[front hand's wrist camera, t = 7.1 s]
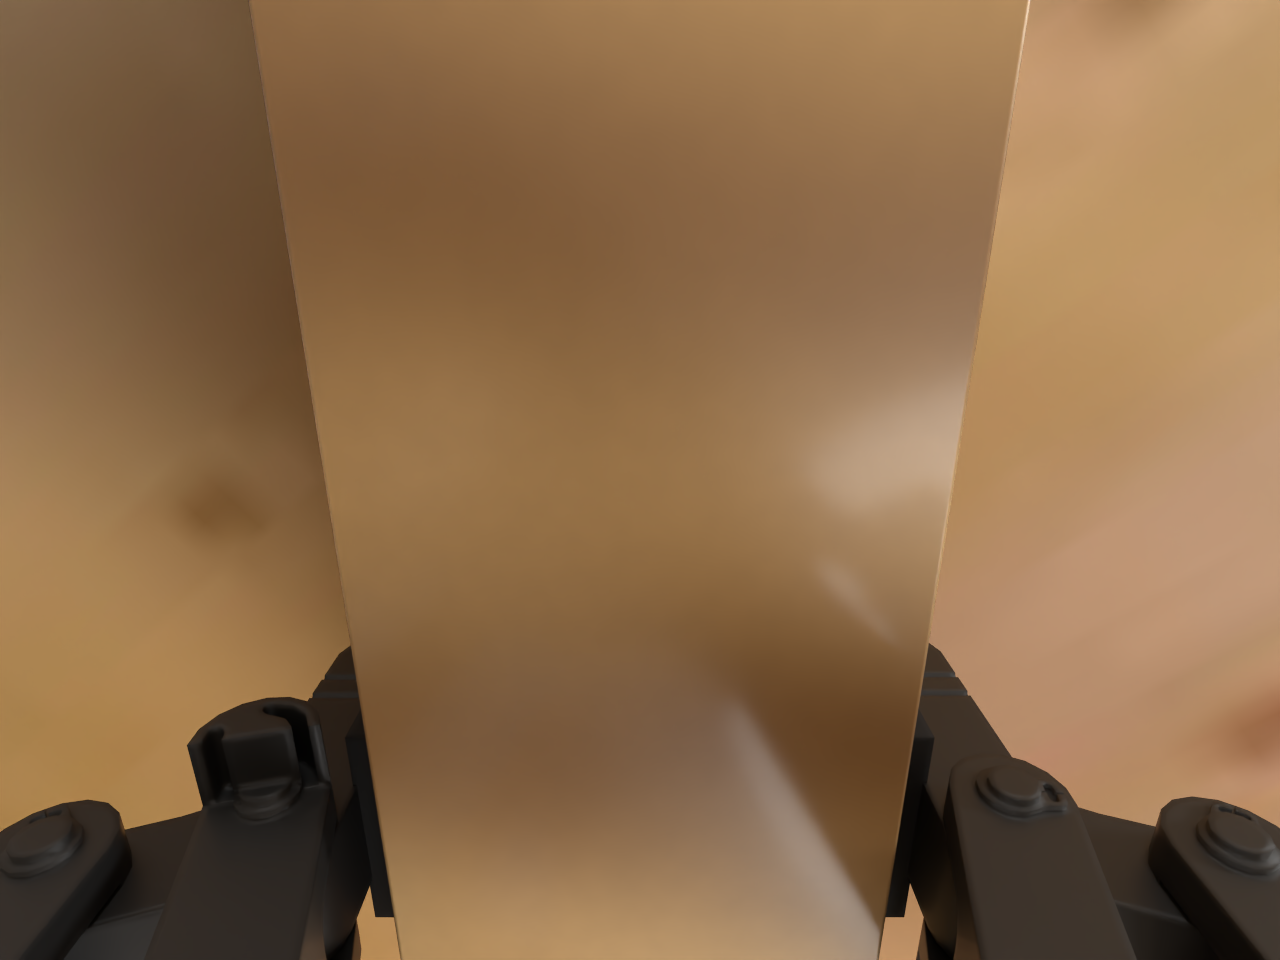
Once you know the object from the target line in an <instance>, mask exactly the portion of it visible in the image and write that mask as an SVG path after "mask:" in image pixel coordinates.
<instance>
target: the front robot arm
mask: <svg viewBox="0 0 1280 960" xmlns="http://www.w3.org/2000/svg"><path fill="white" fill-rule="evenodd" d="M187 747H188V751H189V755H190V758H191V762H192V766H193V770H194V774H195V777H196V781H197V785H198V789H199V793H200V796H201V800H202V804H203V807H202V810H201V811H198V812H195V813H192V814H188V815H185V816H182V817H178V818H173V819H169V820H165V821H160V822H156V823H152V824H148V825H143V826H139V827H135V828H130V829H126V830H125V829H124V826H123V823H122V820H121V817H120V813H119V812H118V811H117V810H116V809H115V808H113V807H112V806H111V805H110V804H109V803H106V802H99V801H93V800H83V801H76V802H69V803H62V804H59V805H56V806H53V807H50V808H48V809H44V810H42V811H39V812H36V813H33V814H31V815H29V816H28V817H26V818H24V819H22V820H20V821H18V822H17V823H15V824H13V825H11V826H9V827H7V828H6V829H4V830H3V831H1V832H0V960H360V956H361V944H360V937H359V930H358V925H357V916H358V914H359V911H360V909H361V906H362V904H363V901H364V899H365V896H366V894H367V891H368V889H369V886H370V888H371V894H372V900H373V906H374V911H375V917H394V914H393V907H392V901H391V895H390V888H389V882H388V876H387V870H386V863H385V857H384V851H383V844H382V838H381V832H380V826H379V819H378V813H377V807H376V800H375V794H374V788H373V782H372V775H371V769H370V763H369V756H368V750H367V744H366V738H365V731H364V725H363V719H362V712H361V706H360V700H359V694H358V687H357V681H356V675H355V668H354V662H353V656H352V649H351V646H349V647H348V648H347V649H345V650H344V651H343V652H341V653H340V654H339V655H338V657H337V658H336V660H335V661H334V663H333V664H332V666H331V667H330V669H329V670H328V672H327V673H326V675H325V679H324V680H321V682H320V683H319V685H318V686H317V688H316V689H315V691H314V692H313V697H312V698H309V700H308V701H303V700H299V699H296V698H292V697H278V698H265V699H261V700H257V701H253V702H249V703H245V704H241V705H239V706H237V707H235V708H233V709H230V710H228V711H226V712H224V713H222V714H219V715H218V716H216V717H215V718H214V719H212V720H211V721H210V722H208V723H207V724H206V725H204V726H203V727H201V728H200V729H199V730H198V731H197V733H196V734H195V735H194V737H193V738H192V739H191V741H190V742H189V743H188V745H187ZM910 884H911V886H912V889H913V891H914V894H915V896H916V899H917V901H918V904H919V906H920V909H921V911H922V914H923V916H924V919H923V925H922V930H921V935H920V941H919V946H918V952H917V957H916V960H1280V828H1278V827H1277V826H1276V825H1274V824H1272V823H1270V822H1268V821H1266V820H1265V819H1263V818H1261V817H1259V816H1257V815H1255V814H1253V813H1252V812H1250V811H1248V810H1245V809H1242V808H1239V807H1237V806H1234V805H1231V804H1228V803H1225V802H1222V801H1219V800H1213V799H1206V798H1199V797H1186V798H1180V799H1174V800H1171V801H1170V802H1169V803H1168V804H1167V805H1166V806H1164V807H1163V808H1162V809H1161V812H1160V815H1159V818H1158V821H1157V824H1156V827H1154V826H1150V825H1146V824H1141V823H1137V822H1133V821H1128V820H1124V819H1120V818H1116V817H1111V816H1107V815H1103V814H1098V813H1095V812H1092V811H1089V810H1085V809H1082V808H1079V807H1078V806H1077V804H1076V803H1075V801H1074V800H1073V798H1072V797H1071V795H1070V793H1069V792H1068V790H1067V789H1066V788H1065V787H1064V786H1063V785H1062V784H1061V783H1059V782H1058V781H1057V780H1056V779H1055V778H1053V777H1052V776H1051V775H1050V774H1049V773H1047V772H1045V771H1043V770H1041V769H1039V768H1038V767H1036V766H1034V765H1032V764H1030V763H1028V762H1026V761H1023V760H1020V759H1016V758H1012V757H1011V755H1010V754H1009V752H1008V751H1007V749H1006V748H1005V746H1004V745H1003V743H1002V742H1001V740H1000V739H999V737H998V736H997V734H996V733H995V731H994V730H993V728H992V727H991V726H990V724H989V723H988V721H987V720H986V718H985V717H984V715H983V714H982V712H981V711H980V709H979V708H978V706H977V705H976V703H975V702H974V700H973V699H972V697H971V696H968V695H967V690H966V688H965V687H964V685H963V684H962V683H961V681H960V680H959V678H958V677H955V672H954V671H953V669H952V668H951V666H950V665H949V663H948V662H947V660H946V659H945V657H944V656H943V654H942V653H941V651H939V650H938V649H936V648H935V647H934V646H932V645H931V644H930V643H929V645H928V651H927V658H926V664H925V670H924V676H923V683H922V689H921V695H920V702H919V708H918V714H917V721H916V727H915V733H914V740H913V746H912V752H911V758H910V765H909V771H908V777H907V784H906V790H905V796H904V803H903V809H902V815H901V821H900V828H899V834H898V840H897V847H896V853H895V859H894V866H893V872H892V878H891V884H890V891H889V897H888V903H887V910H886V916H885V917H904V915H905V909H906V903H907V897H908V891H909V885H910Z"/></svg>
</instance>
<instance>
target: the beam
mask: <svg viewBox="0 0 1280 960" xmlns="http://www.w3.org/2000/svg"><path fill="white" fill-rule="evenodd" d="M248 2H249V8H250V14H251V21H252V27H253V33H254V39H255V46H256V52H257V58H258V65H259V71H260V77H261V83H262V90H263V96H264V102H265V109H266V115H267V121H268V128H269V134H270V140H271V146H272V153H273V159H274V165H275V172H276V178H277V184H278V190H279V197H280V203H281V209H282V216H283V222H284V228H285V234H286V241H287V247H288V253H289V260H290V266H291V272H292V278H293V285H294V291H295V297H296V304H297V310H298V316H299V322H300V329H301V335H302V341H303V348H304V354H305V360H306V366H307V373H308V379H309V385H310V392H311V398H312V404H313V411H314V417H315V423H316V429H317V436H318V442H319V448H320V455H321V461H322V467H323V473H324V480H325V486H326V492H327V499H328V505H329V511H330V517H331V524H332V530H333V536H334V543H335V549H336V555H337V561H338V568H339V574H340V580H341V587H342V593H343V599H344V605H345V612H346V618H347V624H348V631H349V637H350V643H351V649H352V656H353V662H354V668H355V675H356V681H357V687H358V694H359V700H360V706H361V712H362V719H363V725H364V731H365V738H366V744H367V750H368V756H369V763H370V769H371V775H372V782H373V788H374V794H375V800H376V807H377V813H378V819H379V826H380V832H381V838H382V844H383V851H384V857H385V863H386V870H387V876H388V882H389V888H390V895H391V901H392V907H393V914H394V920H395V926H396V932H397V939H398V945H399V951H400V958H401V960H879V954H880V948H881V941H882V935H883V929H884V922H885V916H886V910H887V903H888V897H889V891H890V884H891V878H892V872H893V866H894V859H895V853H896V847H897V840H898V834H899V828H900V821H901V815H902V809H903V803H904V796H905V790H906V784H907V777H908V771H909V765H910V758H911V752H912V746H913V740H914V733H915V727H916V721H917V714H918V708H919V702H920V695H921V689H922V683H923V676H924V670H925V664H926V658H927V651H928V645H929V639H930V632H931V626H932V620H933V613H934V607H935V601H936V595H937V588H938V582H939V576H940V569H941V563H942V557H943V550H944V544H945V538H946V532H947V525H948V519H949V513H950V506H951V500H952V494H953V487H954V481H955V475H956V468H957V462H958V456H959V450H960V443H961V437H962V431H963V424H964V418H965V412H966V405H967V399H968V393H969V387H970V380H971V374H972V368H973V361H974V355H975V349H976V342H977V336H978V330H979V324H980V317H981V311H982V305H983V298H984V292H985V286H986V279H987V273H988V267H989V260H990V254H991V248H992V242H993V235H994V229H995V223H996V216H997V210H998V204H999V197H1000V191H1001V185H1002V179H1003V172H1004V166H1005V160H1006V153H1007V147H1008V141H1009V134H1010V128H1011V122H1012V116H1013V109H1014V103H1015V97H1016V90H1017V84H1018V78H1019V71H1020V65H1021V59H1022V52H1023V46H1024V40H1025V34H1026V27H1027V21H1028V15H1029V8H1030V2H1031V0H248Z"/></svg>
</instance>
